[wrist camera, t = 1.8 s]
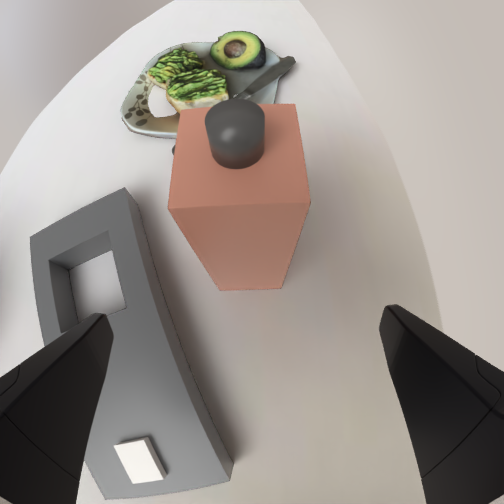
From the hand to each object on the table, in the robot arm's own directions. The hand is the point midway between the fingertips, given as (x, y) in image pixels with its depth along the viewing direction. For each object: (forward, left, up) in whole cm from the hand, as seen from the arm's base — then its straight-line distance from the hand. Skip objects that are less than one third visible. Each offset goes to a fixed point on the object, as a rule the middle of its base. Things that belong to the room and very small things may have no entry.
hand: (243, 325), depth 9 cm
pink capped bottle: (+4, +4, -12) cm, 13 cm away
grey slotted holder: (-8, +7, -12) cm, 16 cm away
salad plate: (+17, +20, -13) cm, 29 cm away
